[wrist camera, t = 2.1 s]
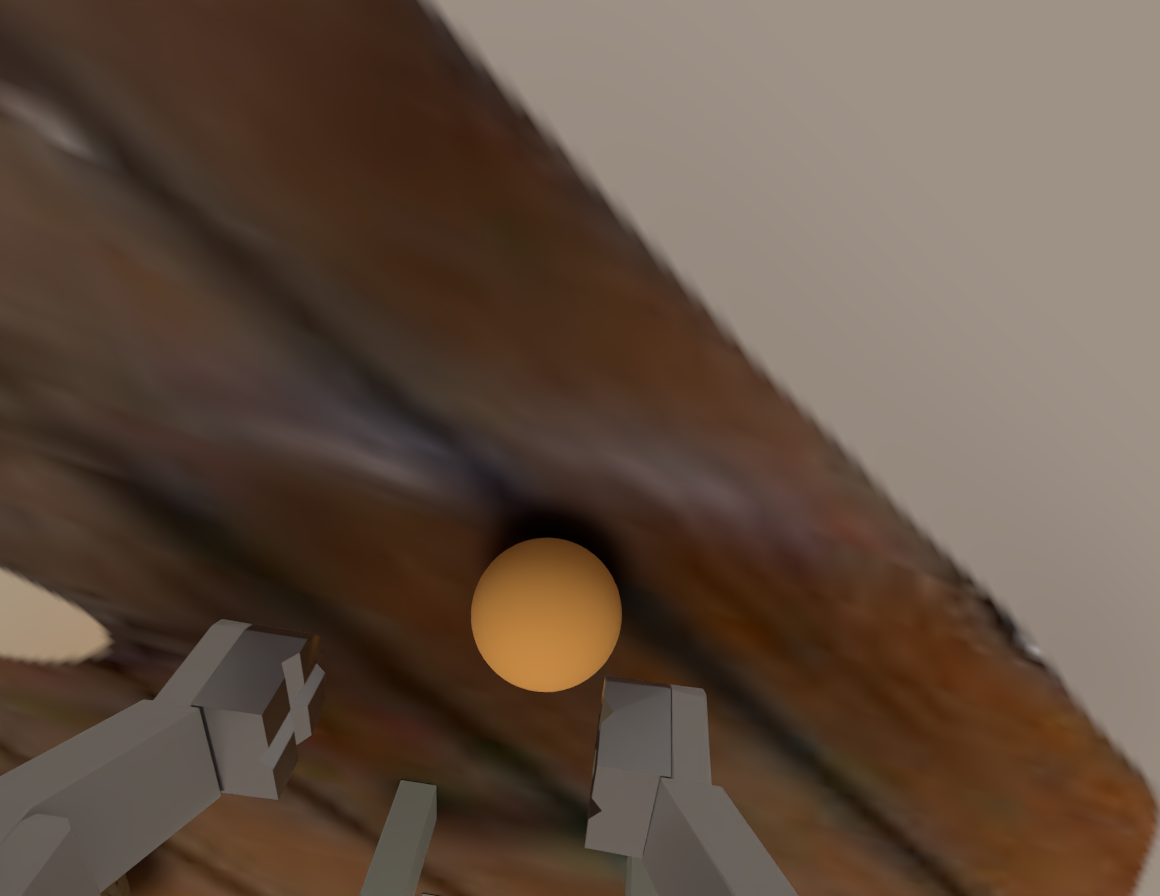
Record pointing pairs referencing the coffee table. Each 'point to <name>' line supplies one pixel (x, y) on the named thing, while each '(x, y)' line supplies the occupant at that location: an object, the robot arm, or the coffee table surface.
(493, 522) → the coffee table surface
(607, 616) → the ball
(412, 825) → the bridge
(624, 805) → the robot arm
